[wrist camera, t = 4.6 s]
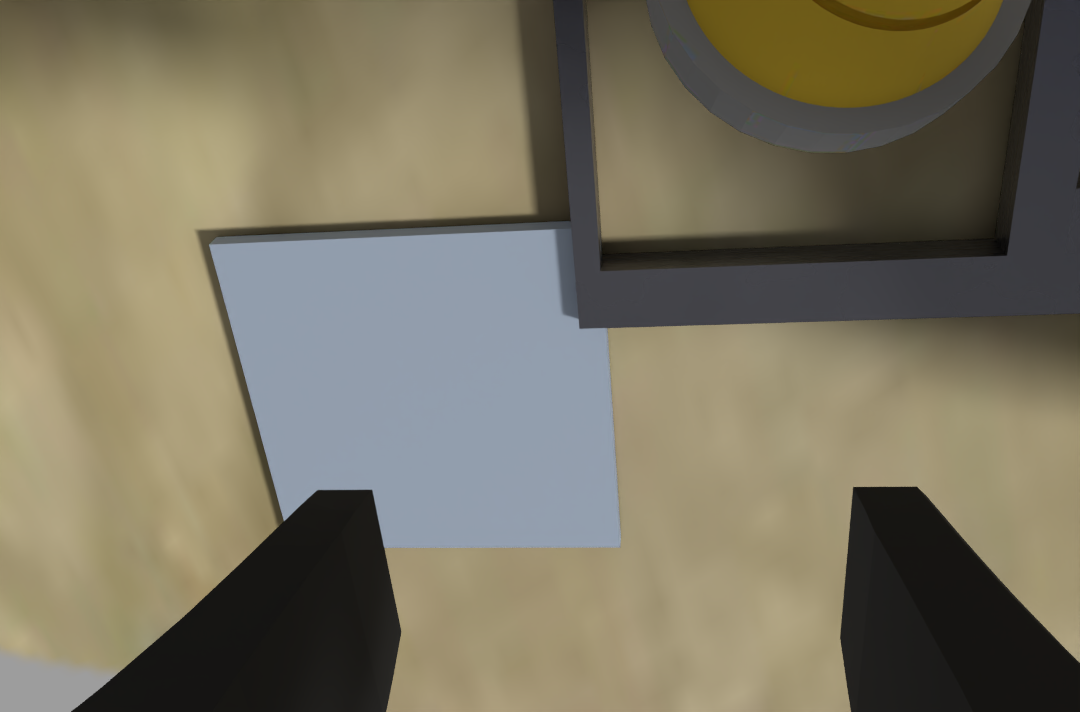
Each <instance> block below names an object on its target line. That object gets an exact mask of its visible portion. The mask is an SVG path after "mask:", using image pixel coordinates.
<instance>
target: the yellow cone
mask: <svg viewBox="0 0 1080 712" xmlns="http://www.w3.org/2000/svg"><path fill="white" fill-rule="evenodd" d="M646 1H647V7H648V12H649V17H650V22H651V26H652V28H653V31H654V33H655V36H656V38H657V40H658V43H659V45H660V47H661V50H662V52H663V55H664V57H665V59H666V60H667V62H668V63H669V65H670V66H671V68H672V69H673V70H674V72H675V73H676V75H677V76H678V78H679V79H680V81H681V82H682V84H683V85H684V87H685V88H686V89H687V90H688V91H689V92H690V93H691V94H692V95H693V96H694V97H695V98H696V99H698V100H699V101H700V102H701V103H702V104H703V105H704V106H705V107H706V108H707V109H708V110H709V111H710V112H711V113H713V114H714V115H716V116H717V117H719V118H720V119H722V120H723V121H725V122H726V123H728V124H729V125H731V126H732V127H734V128H735V129H737V130H738V131H740V132H742V133H745V134H747V135H750V136H752V137H754V138H757V139H759V140H762V141H764V142H766V143H769V144H771V145H774V146H779V147H784V148H789V149H794V150H799V151H804V152H809V153H847V152H852V151H858V150H863V149H868V148H874V147H879V146H882V145H885V144H887V143H890V142H892V141H895V140H897V139H900V138H902V137H905V136H907V135H910V134H913V133H914V132H916V131H918V130H919V129H921V128H922V127H924V126H925V125H927V124H928V123H930V122H931V121H933V120H935V119H936V118H938V117H939V116H941V115H942V114H944V113H945V112H946V111H947V110H949V109H950V108H951V107H952V106H953V105H955V104H956V103H957V102H958V101H959V100H961V99H962V98H963V97H964V96H965V95H967V94H968V93H969V92H970V91H971V90H972V89H973V88H974V87H975V86H976V85H977V84H978V83H979V82H980V81H981V80H982V79H983V78H984V77H985V76H986V75H987V74H988V73H989V72H991V71H992V70H993V69H994V68H995V67H996V66H997V64H998V63H999V61H1000V60H1001V58H1002V57H1003V55H1004V54H1005V52H1006V51H1007V49H1008V48H1009V46H1010V45H1011V43H1012V42H1013V40H1014V39H1015V37H1016V36H1017V34H1018V32H1019V30H1020V27H1021V25H1022V22H1023V20H1024V17H1025V15H1026V12H1027V10H1028V7H1029V5H1030V2H1031V0H646Z"/></svg>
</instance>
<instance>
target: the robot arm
mask: <svg viewBox="0 0 1080 712" xmlns="http://www.w3.org/2000/svg"><path fill="white" fill-rule="evenodd" d="M400 636H401V628H400V623H399V618H398V613H397V608H396V604H395V599H394V594H393V589H392V584H391V579H390V574H389V569H388V564H387V559H386V554H385V550H384V545H383V540H382V535H381V530H380V525H379V520H378V515H377V510H376V505H375V501H374V496H373V491H372V490H317V491H316V492H315V493H314V494H312V495H311V496H310V497H309V498H308V499H307V500H306V501H305V502H304V503H303V504H302V505H300V506H299V507H298V508H297V509H296V510H295V511H294V512H293V513H292V514H291V515H290V516H289V517H288V518H287V519H286V520H285V521H284V522H283V523H282V524H281V525H280V526H279V527H278V528H277V529H276V530H275V531H274V532H273V533H272V534H271V535H269V536H268V537H267V538H266V539H265V540H264V541H263V542H262V543H261V544H260V545H259V546H258V547H257V548H256V549H255V550H254V551H253V552H252V553H251V554H250V555H249V556H248V557H247V558H246V559H245V560H244V561H243V562H242V563H241V564H240V565H239V566H237V567H236V568H235V569H234V570H233V571H232V572H231V573H230V574H229V575H228V576H227V577H226V578H225V579H224V580H223V581H221V582H220V583H219V584H218V585H217V586H216V587H215V588H214V589H213V590H212V591H211V592H210V593H209V594H208V595H207V596H205V597H204V598H203V599H202V600H201V601H200V602H199V603H198V604H197V605H196V606H195V607H194V608H193V609H192V610H191V611H190V612H188V613H187V614H186V615H185V616H184V617H183V618H182V619H181V620H180V621H178V622H177V623H176V624H175V625H174V626H173V627H171V628H170V629H169V630H168V631H167V632H166V633H164V634H163V635H162V636H161V637H160V638H159V639H158V640H156V641H155V642H154V643H153V644H152V645H151V646H149V647H148V648H147V649H146V650H145V651H144V652H142V653H141V654H140V655H139V656H138V657H137V658H135V659H134V660H133V661H132V662H131V663H130V664H128V665H127V666H126V667H125V668H124V669H123V670H121V671H120V672H119V673H118V674H117V675H116V676H114V677H113V678H112V679H111V680H110V681H109V682H107V683H106V684H105V685H104V686H103V687H102V688H100V689H99V690H98V691H97V692H96V693H94V694H93V695H92V696H90V697H89V698H88V699H87V700H85V701H84V702H83V703H82V704H80V705H79V706H78V707H77V708H75V709H74V710H73V711H71V712H386V709H387V704H388V700H389V695H390V690H391V685H392V680H393V675H394V669H395V664H396V658H397V652H398V647H399V641H400ZM840 639H841V646H842V653H843V660H844V667H845V674H846V681H847V688H848V694H849V701H850V707H851V712H1080V663H1079V662H1078V661H1077V660H1076V659H1075V658H1074V657H1073V656H1072V655H1071V654H1070V653H1069V652H1068V651H1067V650H1066V649H1065V648H1064V647H1063V646H1062V645H1061V644H1060V643H1059V642H1058V641H1057V640H1056V639H1055V638H1054V637H1053V635H1052V634H1051V633H1050V632H1049V631H1048V630H1047V629H1046V628H1045V627H1044V626H1043V625H1042V624H1041V623H1040V622H1039V621H1038V620H1037V619H1036V618H1035V617H1034V616H1033V615H1032V614H1031V613H1030V612H1029V611H1028V610H1027V609H1026V608H1025V607H1024V606H1023V604H1022V603H1021V602H1020V601H1019V600H1018V599H1017V598H1016V597H1015V596H1014V595H1013V594H1012V593H1011V592H1010V591H1009V589H1008V588H1007V587H1006V586H1005V585H1004V584H1003V583H1002V582H1001V581H1000V580H999V579H998V578H997V576H996V575H995V574H994V573H993V572H992V571H991V570H990V569H989V567H988V566H987V565H986V564H985V563H984V562H983V561H982V560H981V559H980V557H979V556H978V555H977V554H976V553H975V552H974V551H973V550H972V548H971V547H970V546H969V545H968V544H967V543H966V541H965V540H964V539H963V538H962V537H961V536H960V535H959V533H958V532H957V531H956V530H955V529H954V528H953V526H952V525H951V524H950V523H949V522H948V521H947V519H946V518H945V517H944V516H943V515H942V514H941V512H940V511H939V510H938V509H937V508H936V507H935V505H934V504H933V503H932V502H931V501H930V500H929V498H928V497H927V496H926V495H925V494H924V493H923V492H922V491H921V490H920V489H919V488H918V487H853V497H852V508H851V520H850V531H849V543H848V554H847V566H846V577H845V589H844V600H843V612H842V624H841V635H840Z"/></svg>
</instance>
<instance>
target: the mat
mask: <svg viewBox="0 0 1080 712" xmlns="http://www.w3.org/2000/svg"><path fill="white" fill-rule="evenodd" d="M599 227H600V226H599ZM599 232H600V228H599ZM209 246H210V250H211V254H212V257H213V261H214V265H215V268H216V272H217V276H218V280H219V283H220V287H221V291H222V294H223V298H224V302H225V305H226V309H227V313H228V316H229V320H230V324H231V328H232V331H233V335H234V339H235V342H236V346H237V350H238V353H239V357H240V361H241V364H242V368H243V372H244V376H245V379H246V383H247V387H248V390H249V394H250V398H251V401H252V405H253V409H254V412H255V416H256V420H257V424H258V427H259V431H260V435H261V438H262V442H263V446H264V449H265V453H266V457H267V460H268V464H269V468H270V472H271V475H272V479H273V483H274V486H275V490H276V494H277V497H278V501H279V505H280V508H281V512H282V516H283V519H284V521H285V520H286V519H287V518H288V517H289V516H290V515H291V514H292V513H293V512H294V511H295V510H296V509H297V508H298V507H299V506H300V505H302V504H303V503H304V502H305V501H306V500H307V499H308V498H309V497H310V496H311V495H312V494H314V493H315V492H316V491H317V490H372V491H373V496H374V501H375V505H376V510H377V515H378V520H379V525H380V530H381V535H382V540H383V545H384V548H489V547H620V542H621V531H620V516H619V501H618V485H617V470H616V454H615V439H614V423H613V408H612V393H611V377H610V362H609V346H608V331H607V328H589V329H579V318H578V305H577V293H576V280H575V268H574V255H573V243H572V230H571V221H559V222H537V223H514V224H492V225H470V226H448V227H426V228H404V229H381V230H359V231H337V232H315V233H293V234H271V235H249V236H226V237H216V238H215V239H214V240H213V241H212V242H211V243H210V244H209ZM600 247H601V245H600ZM601 261H602V260H601Z"/></svg>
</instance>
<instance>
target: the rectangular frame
mask: <svg viewBox="0 0 1080 712" xmlns="http://www.w3.org/2000/svg"><path fill="white" fill-rule="evenodd" d="M553 6H554V18H555V31H556V43H557V56H558V68H559V81H560V93H561V106H562V118H563V130H564V143H565V155H566V168H567V180H568V193H569V205H570V218H571V230H572V243H573V255H574V268H575V280H576V293H577V305H578V318H579V329H589V328H622V327H655V326H687V325H720V324H753V323H785V322H818V321H850V320H883V319H916V318H948V317H981V316H1014V315H1046V314H1079V313H1080V172H1079V170H1080V0H1031V2H1030V5H1029V7H1028V10H1027V12H1026V19H1025V26H1024V33H1023V41H1022V48H1021V55H1020V62H1019V69H1018V76H1017V83H1016V90H1015V97H1014V104H1013V112H1012V119H1011V126H1010V133H1009V140H1008V147H1007V154H1006V161H1005V168H1004V176H1003V183H1002V190H1001V197H1000V204H999V211H998V218H997V225H996V232H995V239H973V240H948V241H923V242H898V243H874V244H849V245H824V246H800V247H775V248H750V249H725V250H701V251H676V252H651V253H627V254H602V238H601V223H600V207H599V192H598V177H597V161H596V146H595V130H594V115H593V99H592V84H591V69H590V53H589V38H588V22H587V7H586V0H553ZM599 226H600V227H599ZM599 228H600V232H599ZM600 245H601V247H600ZM601 260H602V261H601Z"/></svg>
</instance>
